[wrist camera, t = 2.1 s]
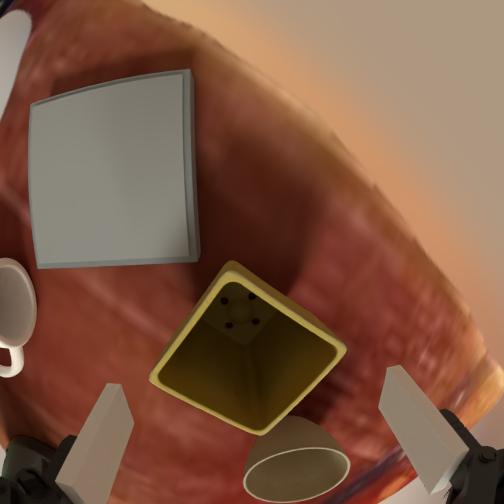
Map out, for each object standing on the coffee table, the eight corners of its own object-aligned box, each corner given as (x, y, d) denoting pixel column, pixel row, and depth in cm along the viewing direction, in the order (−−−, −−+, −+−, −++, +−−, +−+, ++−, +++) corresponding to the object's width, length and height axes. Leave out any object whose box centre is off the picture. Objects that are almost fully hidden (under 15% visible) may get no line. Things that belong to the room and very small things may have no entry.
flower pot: (314, 298, 25) (351, 350, 17) (252, 370, 26) (261, 439, 18) (229, 237, 24) (228, 266, 15) (170, 319, 25) (145, 380, 16)
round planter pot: (297, 381, 27) (314, 431, 20) (346, 426, 29) (366, 470, 22) (220, 430, 28) (220, 481, 21) (277, 466, 30) (285, 511, 23)
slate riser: (53, 261, 23) (35, 269, 20) (46, 109, 20) (28, 103, 17) (200, 253, 24) (196, 262, 21) (194, 80, 21) (189, 67, 18)
